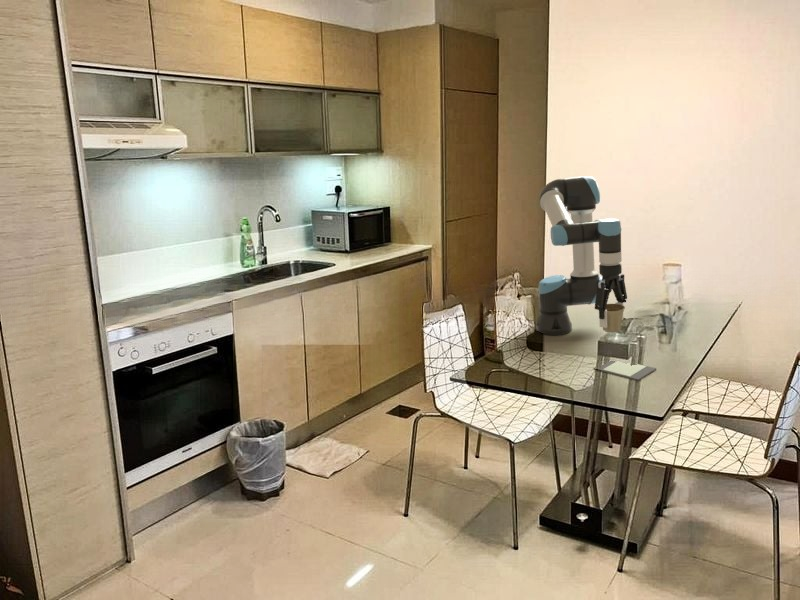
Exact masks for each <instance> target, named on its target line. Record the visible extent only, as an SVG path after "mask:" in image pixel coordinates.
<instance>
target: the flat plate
mask: <svg viewBox="0 0 800 600" xmlns="http://www.w3.org/2000/svg"><path fill="white" fill-rule="evenodd" d="M636 364H637V365H632V366H631V365H630V363H627V364H625V363H622V362H619V361H617V362H615V361H610V362H607V363H606V364H604V365H602V366H601V368H600V369H599V370H601V371H600V372H604V373H606V374H612V375H615V376H617V377H618V376H619V377H623V378H626V379H630V380H634V381H640V380H642V379H644V378H645V377H647V376H648V375H650V374H652V373H653V372H655V371H657V367H653V366H648V365H644V364H639V363H636ZM595 368H596V366H595V367H593V370H595ZM599 370H598V371H599ZM654 370H655V371H654ZM643 377H644V378H643Z"/></svg>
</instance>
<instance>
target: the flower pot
mask: <svg viewBox="0 0 800 600" xmlns="http://www.w3.org/2000/svg"><path fill="white" fill-rule="evenodd" d="M625 309H626V306H625V305H624V304H623V305H621V304H615V303H607V305H606V309H605V310H607V328H604V327H602V330H603V331H605V333H615V332H620V331H621V330H622V323H623V320H622V315H623V316H624V310H625Z"/></svg>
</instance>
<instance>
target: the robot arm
mask: <svg viewBox="0 0 800 600" xmlns="http://www.w3.org/2000/svg"><path fill="white" fill-rule="evenodd" d="M600 199H601V193H600V188H599V185H598V182H597V180H596V178H594V177H593V176H584V175H582V176H578V177H577V176H575V177H568V178H558V179H554V180H551V181H550V182H548V183H547V184H546V185H545V186H544V187H543V188H542V190H541V191H540V194H539V196H538V203H539V206H540V207H541V209H542V210H543V211H544V212H545V213H546V215H547V217H548V219H549V221H550V224H551V227H550V240H551V243H552V244H551V245H553V246H555V247H556V246H561V247H564V246H570V245H571V246H572V261H573V262H572V263H573V270H572V272H570V275H569V276H570V278H567V277H566V276H565V275H557V274H556V275H550V276H547V277H545V278H543V279H541V280H540V281H539V282H538V291H537V292H538V300H539V301H538V302H539V314H538V315H539V316H538V318H537V322H536V331H539V332H541V333H544V334H543V335H545V334H548V335H547V336H560V335H561V336H562V335H565V334H568V333H570V332H571V331H572V330H573V325H572V322H571V319H570V316H569V313H568V307H571V306H582V305H593V304H594V310H597V311H598V318H599V327H600V328H603V327H604V328H607V310H605V309H606V305H607V304H608V300H609V298H610V293H612V292H613V294H614V297H615V300H616V301H615V303H614V304H621V305H623V306H624V303H627V299H628V295H627V288H626V283H625V274H623V273H622V260H623V259H622V224H621V220H619V219H617V218H604V219H601V218H600V219H595V220H593V212H594V211H595V210H596V207H597V206H596V205H598V204H600V201H601V200H600ZM594 243H598V257H599V258H598V259H599V261H598V262H599V263H600V264H599V265H598V267H599V268H598V269H599V272H598V271H597V270H596V269H595V249H594V248H595V247H594ZM623 320H624V314H623V315H622V321H623ZM539 332H538V333H539ZM541 333H540V334H541Z"/></svg>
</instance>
